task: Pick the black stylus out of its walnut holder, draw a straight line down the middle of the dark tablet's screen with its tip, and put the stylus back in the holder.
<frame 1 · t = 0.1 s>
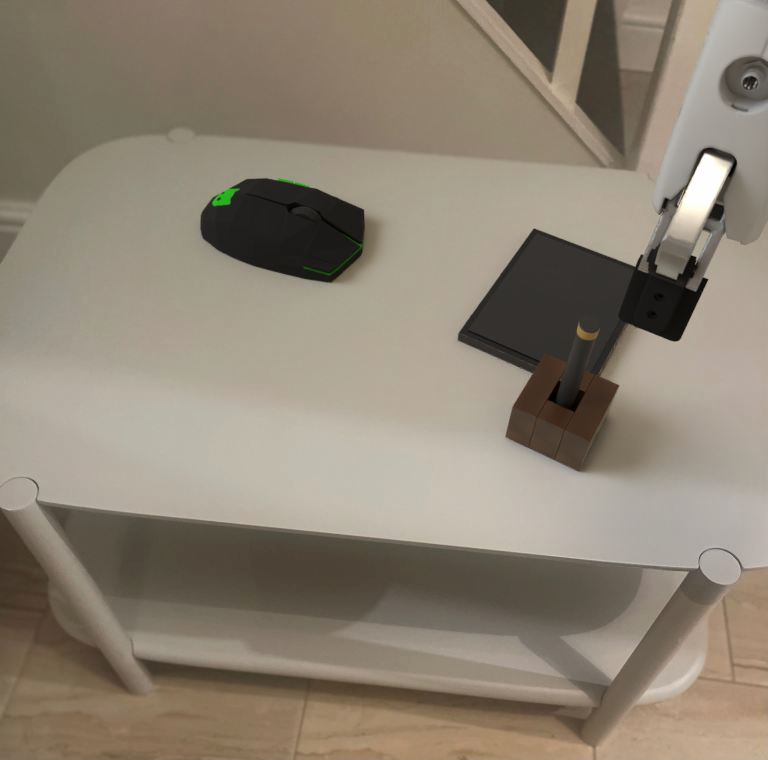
hand: (678, 269, 42), 22 cm above the table, tool pointing down, fingers open, 9 cm apart
holder: (556, 426, 63), on the table
stylus: (572, 379, 58), in the holder
computer mouse: (284, 231, 77), on the table
tablet: (557, 309, 71), on the table
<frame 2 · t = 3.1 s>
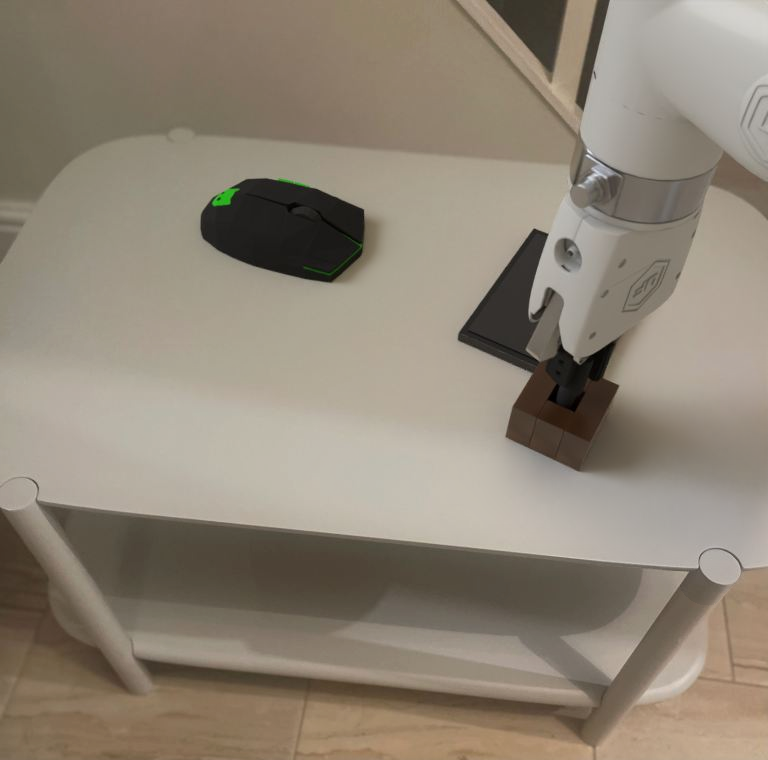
hand: (573, 374, 58), 7 cm above the table, tool pointing down, fingers closed on stylus, 1 cm apart
stylus: (571, 379, 58), in the holder, touching gripper
everything else where it was.
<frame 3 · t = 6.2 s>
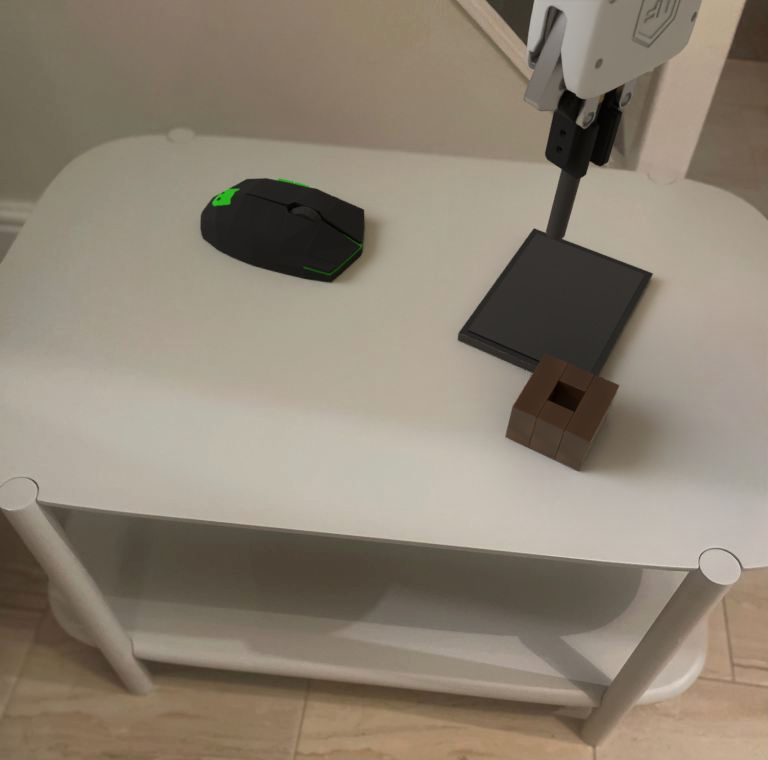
hand: (575, 160, 53), 20 cm above the table, tool pointing down, fingers closed on stylus, 1 cm apart
stylus: (573, 165, 53), point 19 cm above the table, touching gripper
everything else where it was.
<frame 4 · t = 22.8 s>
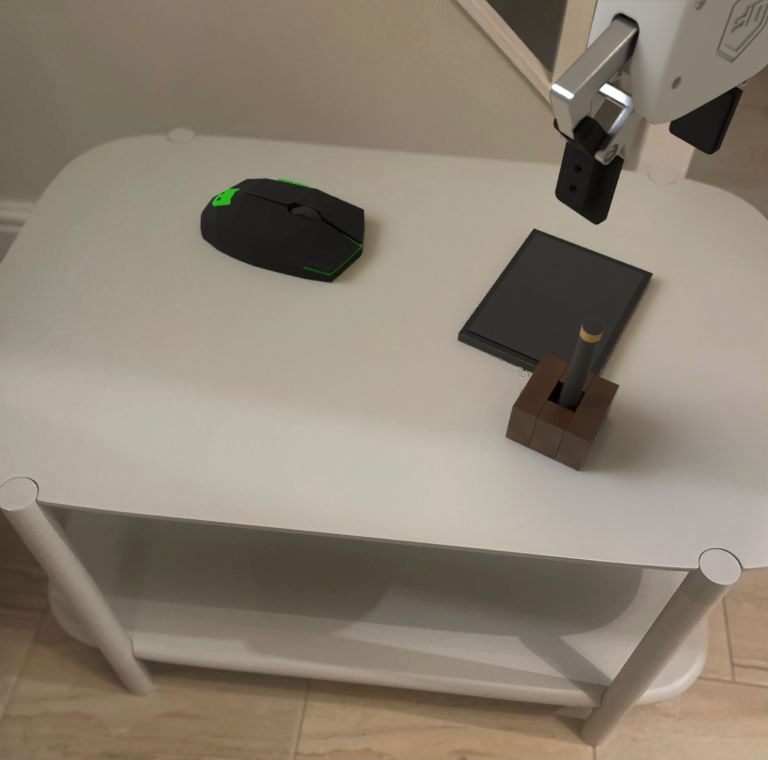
hand: (638, 174, 44), 24 cm above the table, tool pointing down, fingers open, 9 cm apart
stylus: (574, 381, 58), in the holder
everything else where it was.
at the end: stylus 0.3 cm off-centre in the holder, point 6.0 cm above the holder's base; stylus tilted 0°; the gripper is holding nothing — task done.
